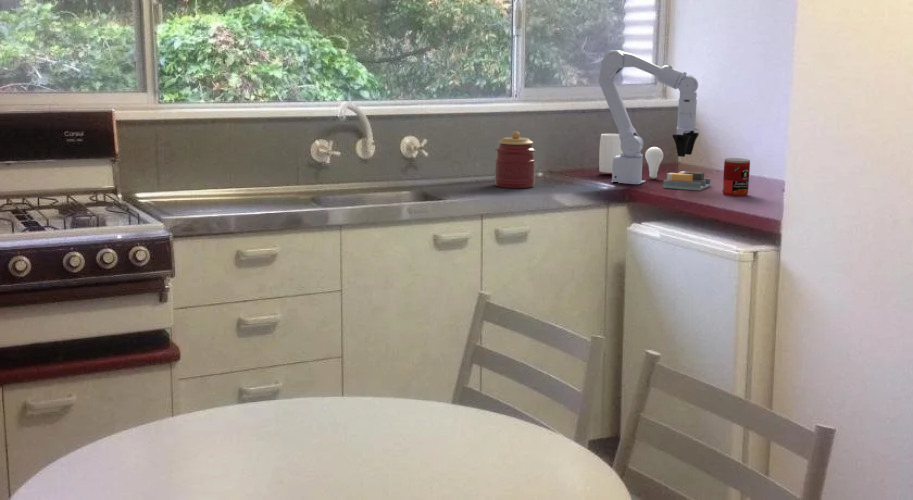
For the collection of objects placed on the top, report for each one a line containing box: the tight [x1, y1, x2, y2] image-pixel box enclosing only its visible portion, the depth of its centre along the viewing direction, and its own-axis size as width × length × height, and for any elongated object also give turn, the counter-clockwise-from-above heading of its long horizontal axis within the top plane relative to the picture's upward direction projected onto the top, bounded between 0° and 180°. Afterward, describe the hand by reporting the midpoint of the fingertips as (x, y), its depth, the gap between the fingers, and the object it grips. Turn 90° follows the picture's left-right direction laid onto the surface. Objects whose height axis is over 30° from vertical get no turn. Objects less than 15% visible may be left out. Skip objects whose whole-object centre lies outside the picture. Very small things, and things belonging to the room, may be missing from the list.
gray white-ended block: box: [678, 170, 705, 181], centre depth 355 cm, size 8×3×4 cm, turn 62°
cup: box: [598, 133, 623, 174], centre depth 381 cm, size 8×8×14 cm
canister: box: [494, 130, 537, 189], centre depth 348 cm, size 13×13×18 cm
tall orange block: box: [666, 172, 693, 182], centre depth 351 cm, size 8×3×4 cm, turn 62°
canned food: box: [722, 157, 751, 197], centre depth 336 cm, size 8×8×11 cm
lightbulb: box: [644, 146, 664, 180], centre depth 372 cm, size 6×6×11 cm
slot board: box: [662, 177, 712, 191], centre depth 353 cm, size 12×12×2 cm
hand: (684, 155), depth 354 cm, fingers open, 7 cm apart
